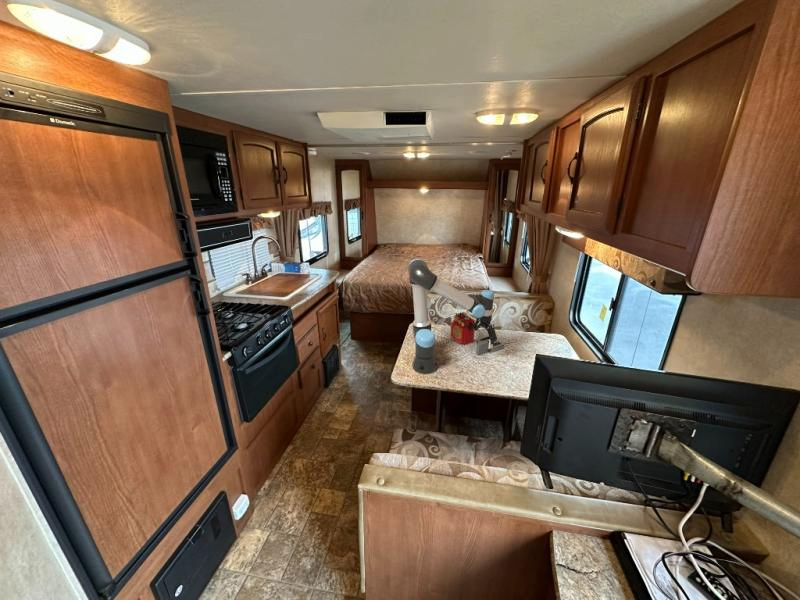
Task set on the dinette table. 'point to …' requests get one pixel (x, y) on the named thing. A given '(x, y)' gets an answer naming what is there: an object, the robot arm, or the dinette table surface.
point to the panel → (481, 348)
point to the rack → (496, 345)
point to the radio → (462, 328)
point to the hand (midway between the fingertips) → (483, 343)
